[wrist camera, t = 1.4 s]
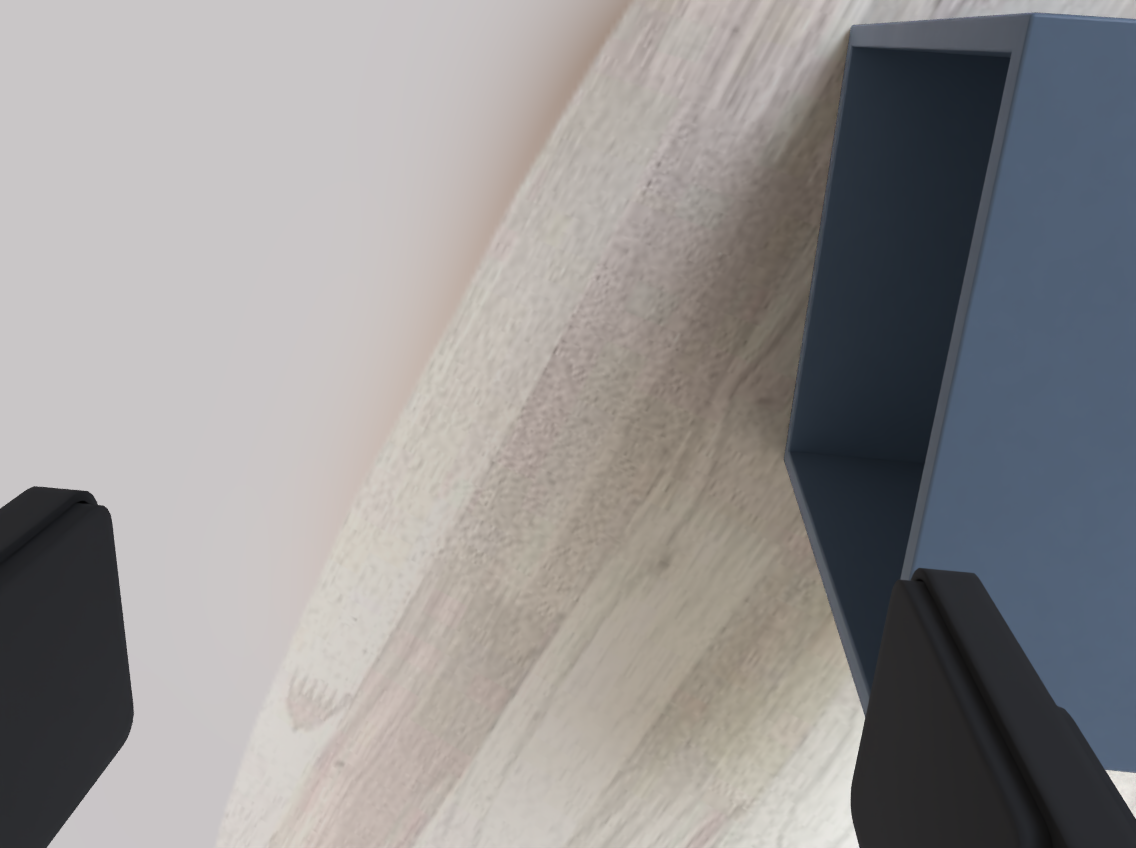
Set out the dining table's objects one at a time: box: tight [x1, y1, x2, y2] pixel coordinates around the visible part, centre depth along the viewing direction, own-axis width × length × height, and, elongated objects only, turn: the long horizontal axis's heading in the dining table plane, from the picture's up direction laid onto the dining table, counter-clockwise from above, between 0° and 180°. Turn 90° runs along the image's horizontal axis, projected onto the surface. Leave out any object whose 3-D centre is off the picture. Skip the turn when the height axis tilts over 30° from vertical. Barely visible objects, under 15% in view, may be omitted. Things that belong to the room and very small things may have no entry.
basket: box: [784, 13, 1136, 773], centre depth 25 cm, size 8×14×15 cm, turn 176°
